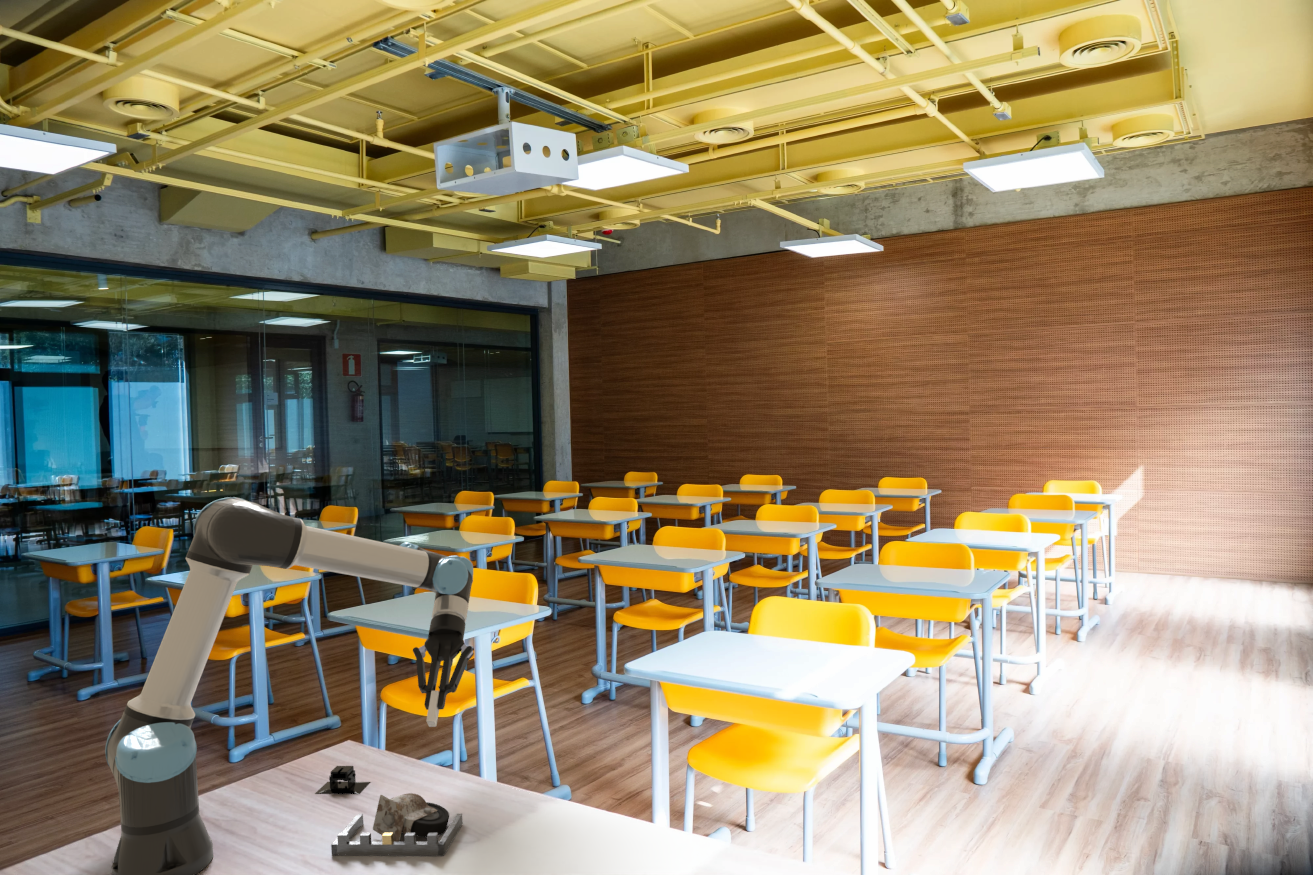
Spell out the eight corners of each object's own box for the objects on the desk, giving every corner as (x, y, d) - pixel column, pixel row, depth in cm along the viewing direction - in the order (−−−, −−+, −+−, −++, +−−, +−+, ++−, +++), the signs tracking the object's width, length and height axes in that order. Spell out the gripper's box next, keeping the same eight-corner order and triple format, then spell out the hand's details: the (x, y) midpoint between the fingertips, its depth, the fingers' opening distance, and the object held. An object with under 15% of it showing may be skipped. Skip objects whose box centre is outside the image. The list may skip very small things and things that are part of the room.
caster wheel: (453, 839, 157) (414, 857, 148) (409, 814, 163) (370, 830, 154) (461, 804, 157) (423, 820, 148) (417, 780, 163) (378, 794, 154)
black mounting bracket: (305, 797, 172) (304, 775, 172) (323, 781, 179) (322, 760, 179) (364, 798, 171) (363, 776, 170) (379, 782, 178) (378, 760, 178)
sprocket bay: (331, 855, 148) (330, 835, 148) (358, 823, 159) (357, 805, 159) (443, 855, 147) (442, 835, 146) (462, 823, 158) (461, 804, 157)
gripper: (480, 628, 190) (466, 730, 174) (422, 630, 190) (403, 732, 174) (475, 611, 184) (460, 714, 168) (415, 612, 184) (394, 716, 168)
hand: (431, 723), depth 171 cm, fingers closed
